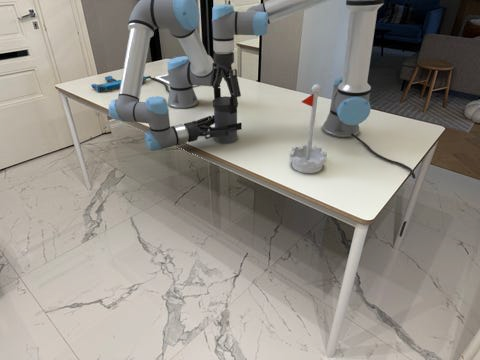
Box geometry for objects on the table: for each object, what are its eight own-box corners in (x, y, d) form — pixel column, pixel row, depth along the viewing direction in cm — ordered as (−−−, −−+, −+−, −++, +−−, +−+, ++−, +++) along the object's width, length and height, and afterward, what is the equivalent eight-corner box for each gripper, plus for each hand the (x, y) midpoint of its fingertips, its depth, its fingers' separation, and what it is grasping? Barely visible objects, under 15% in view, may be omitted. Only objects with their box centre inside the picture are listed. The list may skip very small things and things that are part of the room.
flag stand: (312, 154, 131) (323, 76, 115) (332, 170, 121) (346, 88, 105) (282, 160, 128) (289, 80, 111) (300, 177, 117) (309, 93, 101)
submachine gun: (137, 69, 223) (155, 75, 206) (138, 75, 225) (156, 81, 208) (84, 79, 204) (99, 87, 188) (85, 85, 206) (101, 94, 190)
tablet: (154, 77, 217) (153, 77, 217) (181, 71, 228) (180, 71, 228) (181, 89, 196) (181, 89, 196) (209, 82, 208) (209, 82, 207)
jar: (238, 133, 147) (238, 99, 139) (235, 143, 140) (235, 107, 131) (217, 132, 148) (215, 98, 140) (213, 142, 140) (211, 106, 132)
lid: (241, 103, 138) (241, 98, 137) (231, 112, 130) (231, 106, 129) (219, 100, 142) (219, 95, 140) (208, 108, 134) (207, 102, 133)
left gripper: (176, 131, 143) (223, 120, 152) (197, 153, 127) (248, 139, 136) (174, 114, 139) (222, 104, 148) (196, 135, 123) (249, 122, 132)
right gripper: (250, 56, 118) (249, 115, 130) (216, 44, 135) (218, 98, 147) (232, 59, 115) (233, 120, 127) (199, 47, 131) (203, 101, 143)
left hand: (235, 121), depth 142 cm, fingers closed on jar, 9 cm apart
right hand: (225, 108), depth 137 cm, fingers open, 11 cm apart
